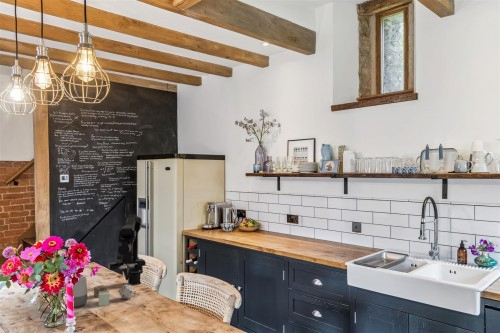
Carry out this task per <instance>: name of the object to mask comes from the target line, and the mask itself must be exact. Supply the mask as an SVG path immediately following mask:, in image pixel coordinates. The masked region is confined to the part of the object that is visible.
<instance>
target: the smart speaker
mask: <svg viewBox="0 0 500 333" xmlns="http://www.w3.org/2000/svg"><path fill="white" fill-rule="evenodd" d="M81 276H82V278H79V281H78V283H76V284H75V285H73V296H74V307H73V308H80V307H83V306H85V305H86V303H87V301H88V286H87V277H86V276H84V275H81Z"/></svg>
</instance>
